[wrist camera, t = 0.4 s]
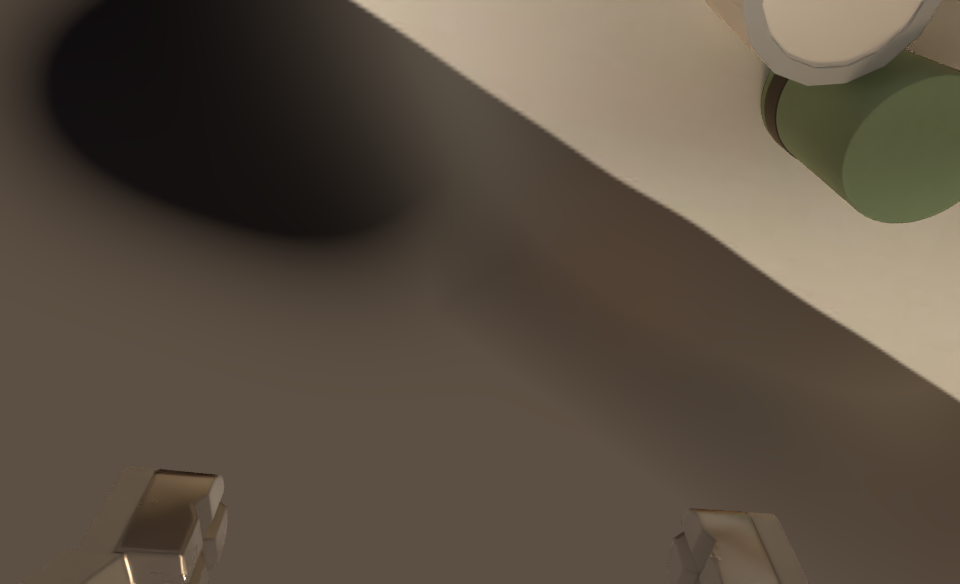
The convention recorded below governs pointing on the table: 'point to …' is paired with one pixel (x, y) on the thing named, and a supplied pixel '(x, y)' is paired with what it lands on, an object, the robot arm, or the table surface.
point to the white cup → (826, 34)
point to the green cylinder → (876, 136)
